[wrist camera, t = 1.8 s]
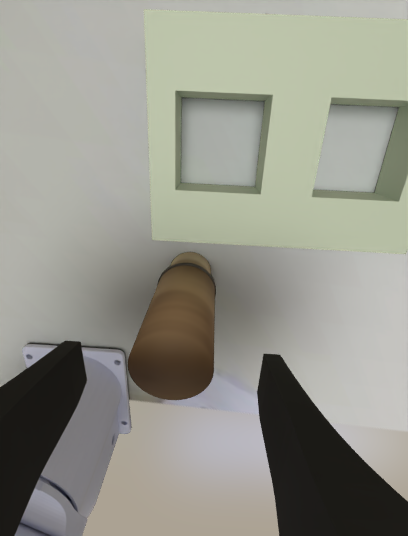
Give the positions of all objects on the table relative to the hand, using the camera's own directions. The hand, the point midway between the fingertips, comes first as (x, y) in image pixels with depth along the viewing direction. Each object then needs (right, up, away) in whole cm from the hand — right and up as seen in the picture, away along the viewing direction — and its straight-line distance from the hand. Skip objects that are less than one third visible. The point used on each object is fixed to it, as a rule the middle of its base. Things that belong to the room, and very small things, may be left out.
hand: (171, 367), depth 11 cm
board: (+6, +11, +5) cm, 13 cm away
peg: (0, +4, +8) cm, 9 cm away
